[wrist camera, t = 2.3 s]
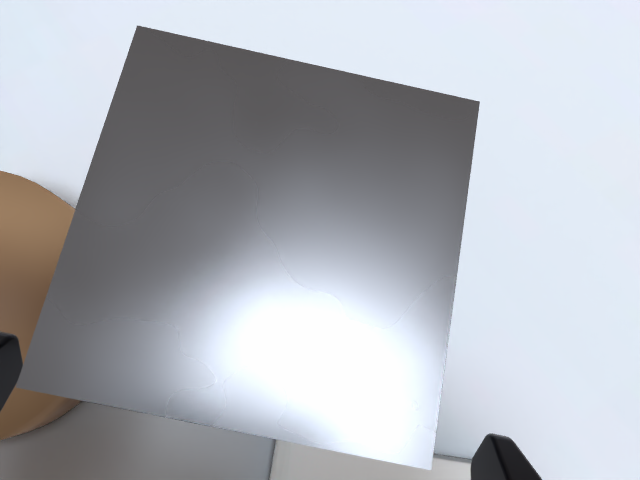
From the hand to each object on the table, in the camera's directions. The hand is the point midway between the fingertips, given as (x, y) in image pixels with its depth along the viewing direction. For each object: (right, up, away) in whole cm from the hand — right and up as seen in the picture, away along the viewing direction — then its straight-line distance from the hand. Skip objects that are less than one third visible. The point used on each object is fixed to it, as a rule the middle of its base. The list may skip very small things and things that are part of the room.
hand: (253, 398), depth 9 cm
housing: (0, 0, +10) cm, 10 cm away
